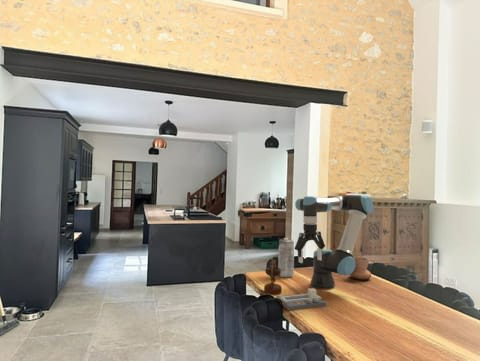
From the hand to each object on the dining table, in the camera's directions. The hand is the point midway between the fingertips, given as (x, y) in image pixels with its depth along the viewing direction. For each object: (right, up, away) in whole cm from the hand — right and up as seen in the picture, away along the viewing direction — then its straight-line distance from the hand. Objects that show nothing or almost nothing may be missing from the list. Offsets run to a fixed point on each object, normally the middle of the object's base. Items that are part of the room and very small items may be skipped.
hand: (310, 261), depth 177 cm
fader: (0, -19, -3) cm, 20 cm away
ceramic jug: (+45, -24, +45) cm, 68 cm away
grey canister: (-7, -23, +48) cm, 54 cm away
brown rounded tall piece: (-20, -22, +14) cm, 33 cm away
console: (-6, -22, -5) cm, 23 cm away
